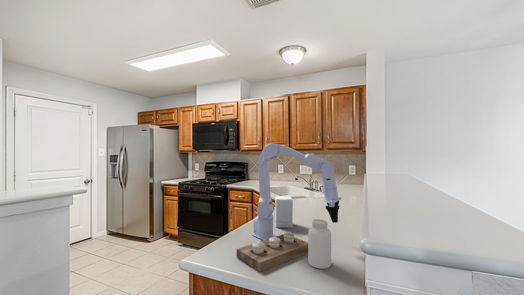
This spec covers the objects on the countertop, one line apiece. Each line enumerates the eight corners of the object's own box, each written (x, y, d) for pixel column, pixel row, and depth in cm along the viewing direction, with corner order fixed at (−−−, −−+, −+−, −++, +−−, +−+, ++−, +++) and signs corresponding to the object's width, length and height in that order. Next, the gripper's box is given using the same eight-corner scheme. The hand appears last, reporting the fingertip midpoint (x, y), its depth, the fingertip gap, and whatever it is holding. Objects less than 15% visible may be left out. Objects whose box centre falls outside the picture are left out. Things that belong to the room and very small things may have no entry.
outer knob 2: (281, 242, 94) (281, 234, 94) (288, 239, 97) (288, 232, 97) (288, 245, 91) (289, 237, 91) (296, 243, 93) (296, 235, 93)
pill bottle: (327, 271, 75) (327, 226, 76) (304, 265, 79) (304, 222, 80) (334, 262, 82) (333, 220, 82) (312, 256, 86) (312, 216, 87)
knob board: (236, 256, 86) (236, 248, 86) (285, 240, 102) (285, 233, 102) (259, 271, 75) (259, 262, 75) (310, 250, 91) (310, 243, 91)
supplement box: (292, 228, 119) (293, 199, 120) (275, 227, 120) (275, 199, 120) (290, 222, 129) (291, 196, 129) (275, 222, 129) (275, 196, 129)
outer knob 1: (250, 252, 84) (250, 244, 84) (259, 249, 87) (259, 241, 87) (257, 257, 80) (257, 248, 81) (266, 253, 83) (266, 244, 83)
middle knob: (266, 247, 89) (266, 239, 89) (274, 244, 92) (274, 236, 92) (274, 251, 86) (274, 242, 86) (282, 248, 88) (282, 239, 88)
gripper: (339, 190, 91) (345, 224, 90) (339, 185, 105) (344, 214, 104) (321, 191, 94) (327, 225, 93) (323, 186, 107) (328, 215, 106)
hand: (335, 219), depth 99 cm, fingers open, 7 cm apart
